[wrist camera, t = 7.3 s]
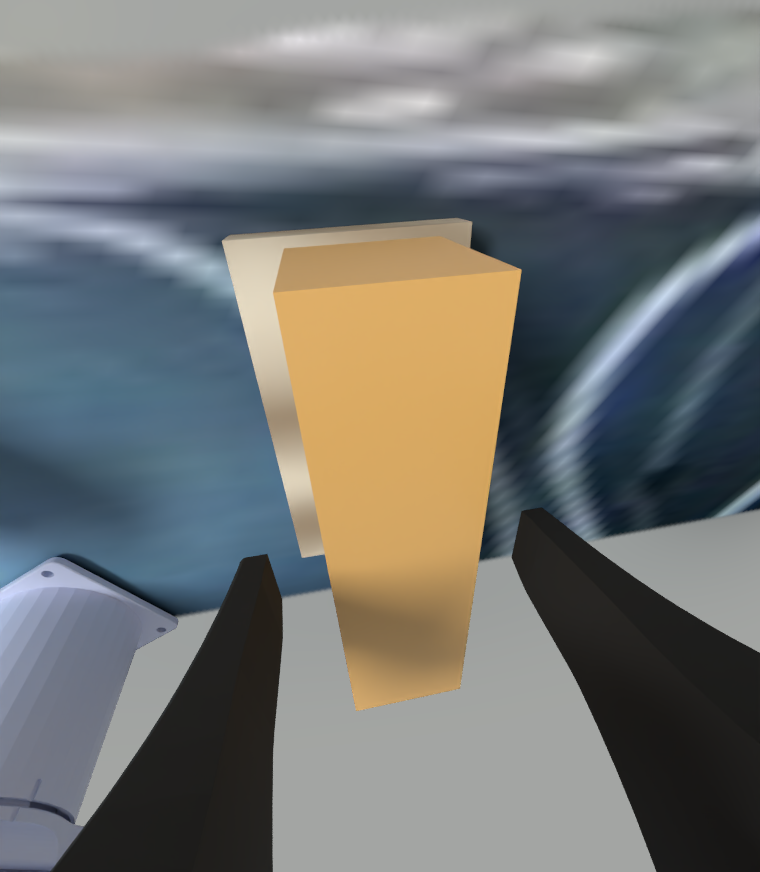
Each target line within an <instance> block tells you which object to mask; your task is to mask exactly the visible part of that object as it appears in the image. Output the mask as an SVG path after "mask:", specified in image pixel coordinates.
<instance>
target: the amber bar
mask: <svg viewBox="0 0 760 872" xmlns="http://www.w3.org/2000/svg"><path fill="white" fill-rule="evenodd" d="M521 271H522V270H521V269H519V268H516V267H514V266H511V265H509V264H507V263H504V262H502V261H499V260H497V259H494V258H492V257H490V256H487V255H485V254H482V253H480V252H477V251H475V250H473V249H470V248H468V247H465V246H463V245H461V244H458V243H456V242H453V241H451V240H448V239H446V238H444V237H441V236H434V237H422V238H409V239H397V240H384V241H371V242H359V243H346V244H334V245H321V246H309V247H296V248H284V250H283V254H282V258H281V262H280V266H279V270H278V274H277V278H276V282H275V286H274V290H273V296H274V301H275V306H276V311H277V316H278V321H279V326H280V331H281V336H282V341H283V346H284V351H285V356H286V361H287V366H288V371H289V376H290V381H291V386H292V391H293V396H294V401H295V406H296V411H297V416H298V421H299V426H300V431H301V436H302V441H303V446H304V451H305V456H306V461H307V466H308V471H309V476H310V482H311V487H312V492H313V497H314V502H315V507H316V512H317V517H318V522H319V527H320V532H321V537H322V542H323V547H324V552H325V557H326V562H327V567H328V572H329V577H330V582H331V587H332V592H333V597H334V602H335V607H336V612H337V617H338V622H339V627H340V632H341V637H342V642H343V647H344V652H345V657H346V662H347V667H348V672H349V677H350V682H351V687H352V693H353V698H354V703H355V707H356V711H359V710H364V709H368V708H373V707H377V706H382V705H387V704H391V703H396V702H400V701H405V700H409V699H414V698H419V697H424V696H428V695H432V694H437V693H441V692H447V691H451V690H456V689H459V688H460V684H461V677H462V671H463V664H464V657H465V650H466V643H467V637H468V630H469V623H470V616H471V609H472V603H473V596H474V589H475V583H476V576H477V569H478V562H479V556H480V549H481V542H482V535H483V528H484V522H485V515H486V508H487V501H488V495H489V488H490V481H491V474H492V467H493V461H494V454H495V447H496V440H497V434H498V427H499V420H500V413H501V406H502V400H503V393H504V386H505V379H506V373H507V366H508V359H509V352H510V345H511V339H512V332H513V325H514V318H515V312H516V305H517V298H518V291H519V284H520V278H521Z"/></svg>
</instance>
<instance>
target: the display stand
mask: <svg viewBox="0 0 760 872" xmlns="http://www.w3.org/2000/svg"><path fill="white" fill-rule="evenodd" d="M471 230H472V222H471V221H467V220H463V219H459V218H450V219H436V220H423V221H410V222H397V223H383V224H370V225H357V226H344V227H330V228H317V229H304V230H291V231H277V232H264V233H251V234H237V235H229V236H228V237H226V238H225V239H224V240H223V241H222V243H223V247H224V251H225V255H226V259H227V263H228V267H229V271H230V275H231V279H232V282H233V286H234V290H235V294H236V298H237V302H238V306H239V310H240V314H241V318H242V322H243V326H244V330H245V334H246V338H247V342H248V346H249V350H250V354H251V358H252V361H253V365H254V369H255V373H256V377H257V381H258V385H259V389H260V393H261V397H262V401H263V405H264V409H265V413H266V417H267V421H268V425H269V429H270V433H271V437H272V440H273V444H274V448H275V452H276V456H277V460H278V464H279V468H280V472H281V476H282V480H283V484H284V488H285V492H286V496H287V500H288V504H289V508H290V512H291V516H292V519H293V523H294V527H295V531H296V535H297V539H298V543H299V547H300V551H301V555H302V558H304V557H310V556H316V555H322V554H325V552H324V547H323V542H322V537H321V532H320V527H319V522H318V517H317V512H316V507H315V502H314V497H313V492H312V487H311V482H310V476H309V471H308V466H307V461H306V456H305V451H304V446H303V441H302V436H301V431H300V426H299V421H298V416H297V411H296V406H295V401H294V396H293V391H292V386H291V381H290V376H289V371H288V366H287V361H286V356H285V351H284V346H283V341H282V336H281V331H280V326H279V321H278V316H277V311H276V306H275V301H274V296H273V290H274V286H275V282H276V278H277V274H278V270H279V266H280V262H281V258H282V254H283V250H284V248H296V247H309V246H321V245H334V244H346V243H359V242H371V241H384V240H397V239H409V238H422V237H434V236H441V237H444V238H446V239H448V240H451V241H453V242H456V243H458V244H461V245H463V246H465V247H468V248H470V243H471Z"/></svg>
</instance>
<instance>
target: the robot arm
mask: <svg viewBox="0 0 760 872" xmlns="http://www.w3.org/2000/svg"><path fill="white" fill-rule="evenodd" d="M512 559H513V562H514V564H515V567H516V569H517V572H518V574H519V577H520V579H521V581H522V583H523V586H524V588H525V590H526V592H527V594H528V596H529V597H530V600H531V601H532V603H533V604H534V607H535V608H536V610H537V612H538V614H539V616H540V617H541V619H542V621H543V622H544V624H545V626H546V628H547V629H548V631H549V633H550V635H551V636H552V638H553V640H554V642H555V643H556V645H557V647H558V649H559V650H560V652H561V654H562V656H563V657H564V659H565V661H566V662H567V664H568V666H569V668H570V670H571V672H572V673H573V676H574V677H575V679H576V681H577V683H578V685H579V687H580V689H581V691H582V694H583V696H584V698H585V700H586V702H587V704H588V707H589V709H590V711H591V713H592V715H593V717H594V720H595V722H596V724H597V726H598V729H599V730H600V733H601V735H602V737H603V740H604V742H605V745H606V746H607V749H608V751H609V754H610V756H611V758H612V761H613V763H614V765H615V767H616V770H617V772H618V775H619V777H620V779H621V782H622V785H623V787H624V789H625V792H626V794H627V797H628V799H629V801H630V804H631V806H632V809H633V811H634V814H635V816H636V819H637V822H638V824H639V827H640V829H641V832H642V835H643V837H644V840H645V842H646V845H647V848H648V850H649V853H650V856H651V858H652V861H653V864H654V866H655V869H656V872H760V653H759V652H757V651H755V650H753V649H752V648H750V647H748V646H746V645H744V644H742V643H740V642H739V641H737V640H735V639H733V638H731V637H729V636H728V635H726V634H724V633H722V632H720V631H719V630H717V629H715V628H713V627H712V626H710V625H708V624H707V623H705V622H703V621H702V620H700V619H698V618H697V617H695V616H693V615H692V614H690V613H688V612H687V611H685V610H683V609H682V608H680V607H678V606H676V605H675V604H674V603H672V602H671V601H669V600H667V599H665V598H664V597H663V596H661V595H660V594H658V593H657V592H655V591H654V590H652V589H650V588H649V587H648V586H646V585H645V584H643V583H642V582H640V581H639V580H637V579H636V578H634V577H633V576H632V575H630V574H629V573H627V572H626V571H625V570H623V569H622V568H620V567H619V566H618V565H616V564H615V563H613V562H612V561H611V560H609V559H608V558H607V557H605V556H604V555H603V554H601V553H600V552H599V551H597V550H596V549H595V548H593V547H592V546H590V545H589V544H588V543H587V542H586V541H584V540H583V539H582V538H580V537H579V536H578V535H576V534H575V533H574V532H573V531H571V530H570V529H569V528H567V527H566V526H565V525H564V524H562V523H561V522H560V521H559V520H557V519H556V518H555V517H553V516H552V515H551V514H549V513H548V512H547V511H546V510H544V509H543V508H536V509H530V510H525V511H522V512H521V517H520V522H519V526H518V531H517V535H516V540H515V544H514V549H513V554H512ZM282 619H283V618H282V598H281V595H280V591H279V588H278V585H277V582H276V579H275V576H274V573H273V570H272V567H271V564H270V561H269V558H268V555H267V554H265V555H259V556H253V557H247V558H243V560H242V561H241V562H240V564H239V567H238V569H237V572H236V574H235V577H234V579H233V581H232V584H231V586H230V588H229V590H228V593H227V595H226V597H225V599H224V601H223V603H222V605H221V608H220V610H219V612H218V614H217V616H216V618H215V620H214V622H213V624H212V626H211V628H210V630H209V632H208V634H207V636H206V638H205V640H204V642H203V644H202V645H201V647H200V649H199V651H198V653H197V655H196V657H195V658H194V660H193V662H192V664H191V665H190V667H189V669H188V671H187V673H186V674H185V676H184V678H183V680H182V681H181V683H180V685H179V687H178V689H177V690H176V692H175V693H174V695H173V697H172V698H171V700H170V702H169V703H168V705H167V707H166V708H165V710H164V712H163V713H162V715H161V716H160V718H159V720H158V721H157V723H156V724H155V726H154V727H153V729H152V730H151V732H150V734H149V735H148V737H147V738H146V740H145V741H144V743H143V744H142V746H141V747H140V749H139V750H138V752H137V753H136V755H135V756H134V758H133V759H132V761H131V762H130V763H129V765H128V766H127V768H126V769H125V771H124V772H123V774H122V775H121V777H120V778H119V780H118V781H117V782H116V784H115V785H114V787H113V788H112V790H111V791H110V792H109V794H108V795H107V797H106V798H105V799H104V801H103V802H102V803H101V805H100V806H99V808H98V809H97V810H96V812H95V813H94V814H93V816H92V817H91V818H90V820H89V821H88V822H87V824H86V825H85V826H78V825H75V822H76V819H77V816H78V813H79V810H80V807H81V805H82V802H83V799H84V796H85V793H86V790H87V787H88V784H89V782H90V779H91V776H92V773H93V770H94V767H95V765H96V762H97V759H98V756H99V753H100V750H101V747H102V745H103V742H104V739H105V736H106V733H107V730H108V728H109V725H110V722H111V719H112V716H113V713H114V710H115V708H116V705H117V702H118V699H119V696H120V693H121V690H122V687H123V685H124V682H125V679H126V676H127V673H128V670H129V667H130V665H131V662H132V659H133V656H134V653H135V650H137V649H139V648H140V647H142V646H144V645H146V644H148V643H150V642H151V641H153V640H155V639H157V638H159V637H161V636H163V635H164V634H166V633H168V632H170V631H172V630H173V629H175V628H176V627H177V624H178V619H177V618H176V617H174V616H172V615H171V614H169V613H167V612H165V611H163V610H161V609H159V608H157V607H155V606H153V605H152V604H150V603H148V602H146V601H144V600H142V599H140V598H138V597H136V596H135V595H133V594H131V593H129V592H127V591H125V590H123V589H121V588H119V587H117V586H116V585H114V584H112V583H110V582H108V581H106V580H104V579H102V578H100V577H99V576H97V575H95V574H93V573H91V572H89V571H87V570H85V569H83V568H81V567H80V566H78V565H76V564H74V563H72V562H70V561H68V560H66V559H64V558H60V557H53V558H50V559H48V560H46V561H45V562H43V563H41V564H40V565H38V566H37V567H35V568H33V569H32V570H30V571H29V572H27V573H25V574H24V575H22V576H20V577H19V578H17V579H16V580H14V581H12V582H11V583H9V584H8V585H6V586H4V587H3V588H1V589H0V872H273V864H272V863H273V861H272V792H273V790H272V789H273V745H274V744H273V743H274V728H275V718H276V707H277V697H278V686H279V675H280V664H281V652H282V639H283V626H282V625H283V620H282Z"/></svg>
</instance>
